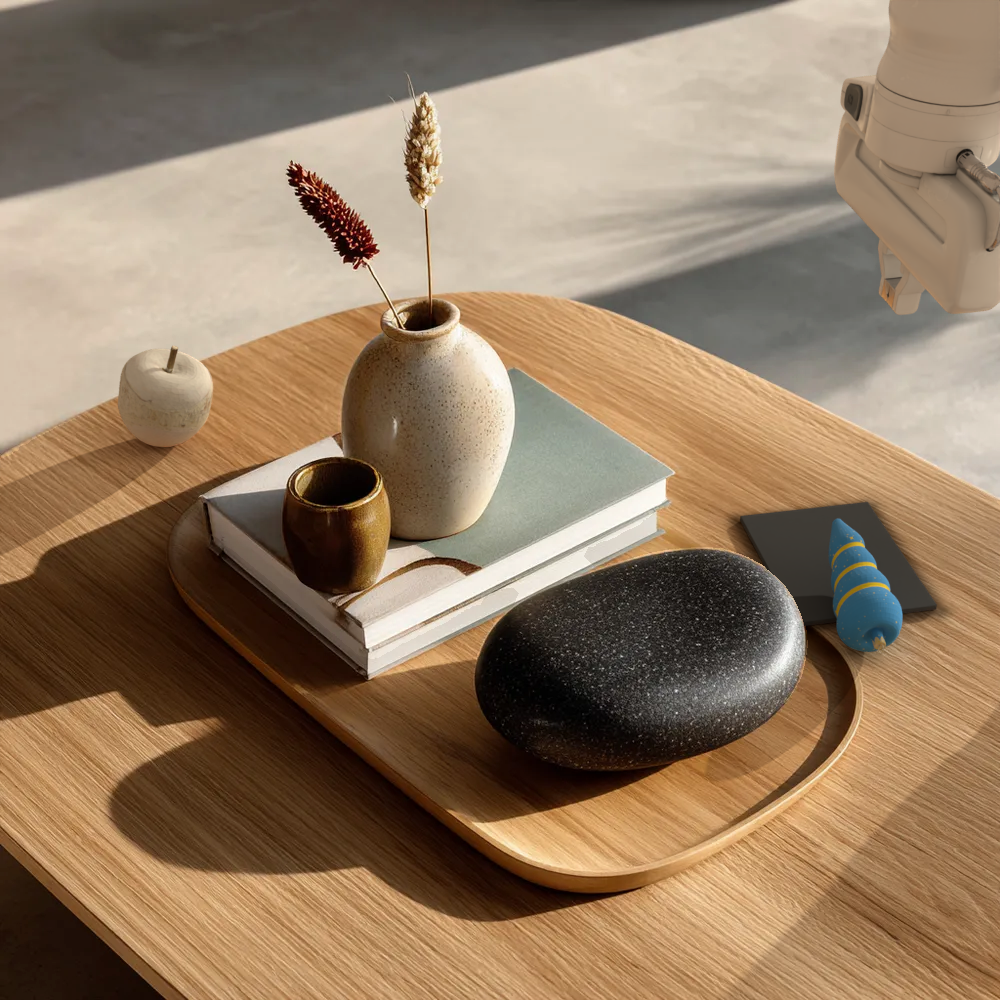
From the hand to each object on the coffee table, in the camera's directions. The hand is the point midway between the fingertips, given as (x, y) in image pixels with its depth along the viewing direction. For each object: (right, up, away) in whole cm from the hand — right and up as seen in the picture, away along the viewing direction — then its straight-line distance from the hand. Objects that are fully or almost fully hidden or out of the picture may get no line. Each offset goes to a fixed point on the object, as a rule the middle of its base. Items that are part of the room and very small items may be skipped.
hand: (896, 304), depth 98 cm
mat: (-1, -20, +15) cm, 25 cm away
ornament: (-1, -16, +15) cm, 22 cm away
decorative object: (-60, -9, +28) cm, 67 cm away
